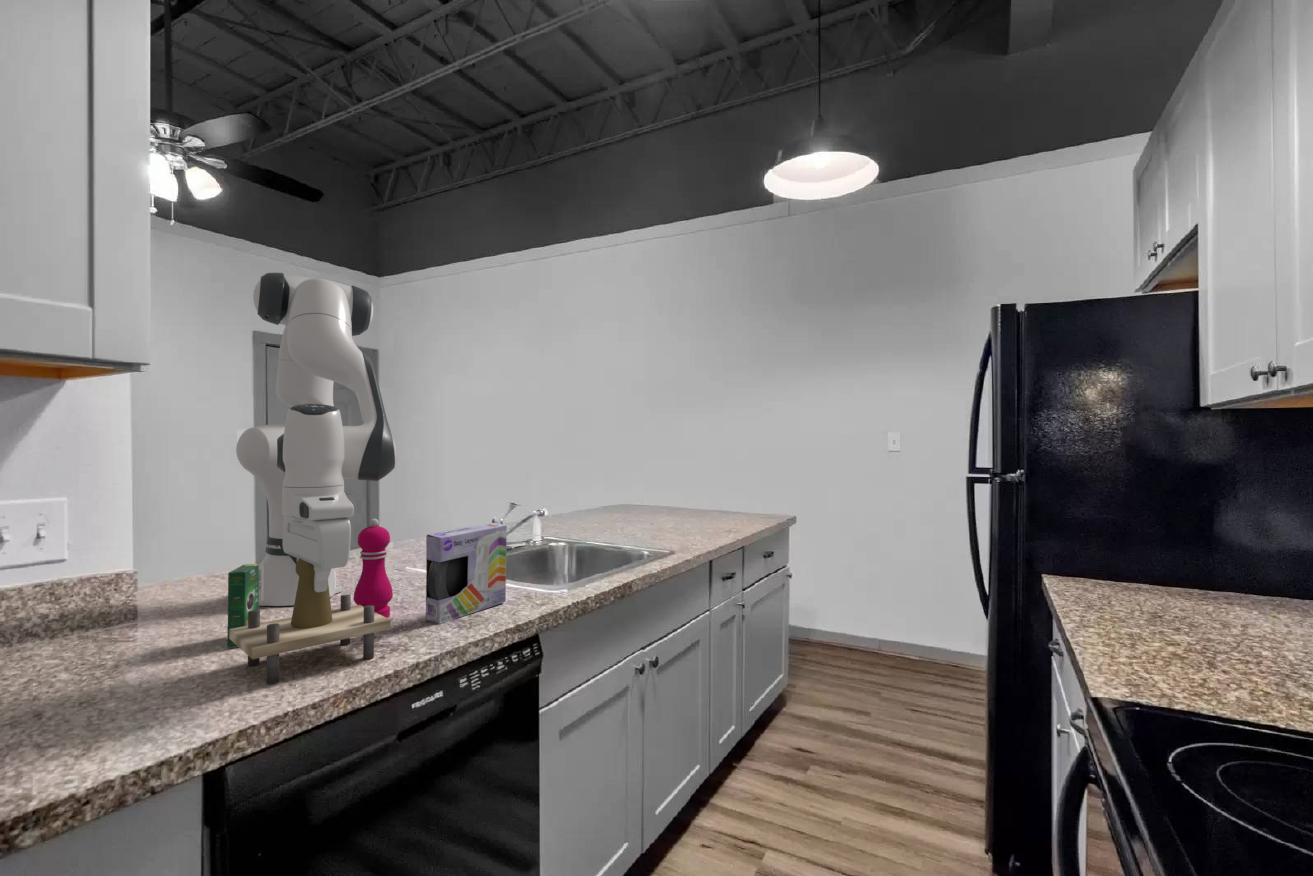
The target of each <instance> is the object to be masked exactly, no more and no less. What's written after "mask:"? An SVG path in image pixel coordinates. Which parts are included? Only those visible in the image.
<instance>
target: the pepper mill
mask: <svg viewBox="0 0 1313 876" xmlns="http://www.w3.org/2000/svg"><path fill="white" fill-rule="evenodd" d="M379 524H380V522H379V519H377V518H371V519H370V520H369V526H367V527H364V528H363V529H362V530H360V532H359V534H358V535H357V544H358V546H359V548H360V549H361V550H360V556H359V557H360V558H359V559H361V560H362V561H361V562H362V568H361V574H360V577H359V579H358V582H357V584H356V586H355V589H354V593H353V601H354V603H355V604H356V605H361V606H363V607H365V606H370V605H372V606H374V612H375V613H378V614H380V615H382V616H384V617H386V618H388V619H389V617H390V616H391V606H390V605H389V603H390V602H391V601H392V599H393V595H394V593H393V591H394V590H393V587H392V584H391V582H390V580H389V577H388V574H387V571H386V564H385V561H386V558H387V557H388V554H387V552H388V550H387V549H386V548H387V547H388V546H389V544H390V542H391V535H390V532H389V531H388V530H387V529H386V528H385V527H383V526H379Z"/></svg>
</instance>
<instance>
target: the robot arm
mask: <svg viewBox="0 0 1313 876" xmlns="http://www.w3.org/2000/svg"><path fill="white" fill-rule="evenodd" d="M252 297H253V304H254V307H255V309H256V311H257V315H258V316H259V317H260V318H261V319H262V320H263V321H265V322H268V323H270V324H273V325H276V326H278V325H282V326H283V325H284V329H283V331H282V337H281V341H280V344H279V345H280V346H279V352H278V358H277V359H278V360H277V369H276V383H275V395H276V396H277V399H278V400H280V401H281V402H282V403H283V404H285V405H286V406H287V407H289V409H288V410H287V413H286V418H285V422H284V423H277V424H276V423H269V424H263V425H259V426H258V425H257V426H255V427H254V426H253V427H249V428H248V429H245V430H244V431H243V432H242V433H241V435H240V436H239V438H238V440H237V443H236V448H235V449H236V450H235V451H236V452H235V453H236V458H237V460H238V462H239V463H240V465H241V467H243V469H244V470H245V471H247V472H249V473H250V474H251V475H253V476H254V477H255V478H256V480H257V481H258V482H259V484H260V485H261V487H262V489H263V491H264V494H265V496H266V497H265V498H266V500H267V507H268V524H269V529H268V531H269V532H268V533H269V536H268V537H267V538H266V543H265V553H266V554H265V556H264V558H263V559H262V561H261V562H260V563H259V607H261V606H262V607H263V606H271V607H284V606H285V607H287V606H294V603H295V598H296V592H297V587H298V581H299V576H298V575H297V573H296V563H297V561H298V559H299V558H300V559H302V560H304V561H305V562H308V563H310V564H313V565H314V571H315V576H314V580H312V589H313V590H314V591H316V592H323V591H326V590H327V580H328V585H329V594H330V598H331V597H333V596H335V594H339V593H340V592H343V586H341V585H338V584H337V581H336V580H337V578H336V576H337V575H336V569H339V568H344V567H346V566H347V565H348V562H349V559H350V553H351V539H352V538H351V537H352V525H351V521H350V519H349V518H353V517H354V513H355V507H354V504H353V503H352V502H351V500H350V499H349V498H348V496H347V495H346V492H345V481H344V480H359V481H371V482H372V481H373V482H379V481H381V480H382V479H383V478H385V477H387V475H388V474H390V473H391V472H392V471H393V470H394V469H395V467H396V463H397V453H398V452H397V445H396V441H395V439H394V437H393V434H392V432H391V428H390V425H389V422H388V418H387V415H386V414H387V413H386V409H385V405H384V402H383V397H382V393H381V389H380V386H379V381H378V377H377V374H376V370H375V366H374V364H373V362H372V359H371V358H370V356H369V354H367V353H365V352H364V351H362V350H360V348H358V346H357V345H356V343H355V342H354V340H353V337H355V336H360V335H362V334H363V333H365V332H366V331H367V330H368V329H369V327H370V325H371V323H372V321H373V318H374V311H375V310H374V309H375V308H374V304H373V302H372V301H373V300H372V297H371V295H370V294H369V292H368V291H367V290H365V289H363V288H361V287H358V286H356V285H347V284H343V283H341V282H337V281H333V280H329V279H326V278H321V277H320V278H319V277H317V278H316V277H309V276H302V275H292V274H291V275H290V274H284V273H283V272H266V273H265V274H263V275H262V276H261V277H260V279H259V281H258V282H257V283H256V285H255V286H254V289H253V296H252ZM334 383H337V384H340V385H342V386H344V387H346V388H347V389H350V390H351V391H352V392H353V393H354V394H355V396H356V397H357V398H356V399H357V401H358V406H359V409H360V410H359V411H360V415H361V418H362V419H361V420H362V424H359V425H343V422H342V421H343V420H342V415H341V414H342V413H341V411H340V409H339V408H337V407H335V405H334Z"/></svg>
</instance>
